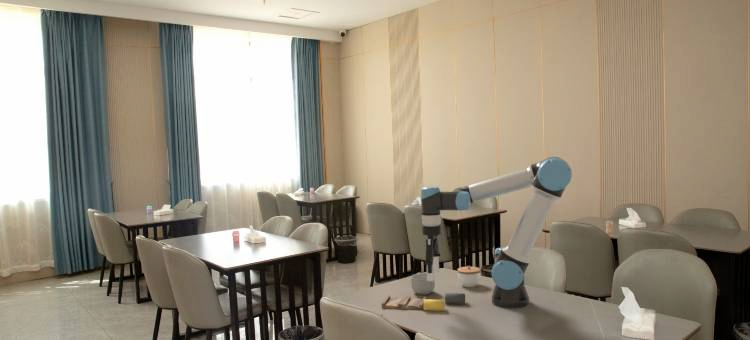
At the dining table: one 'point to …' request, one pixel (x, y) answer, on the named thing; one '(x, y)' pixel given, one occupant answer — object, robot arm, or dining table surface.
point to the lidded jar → (469, 276)
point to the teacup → (422, 284)
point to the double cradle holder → (403, 303)
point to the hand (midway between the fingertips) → (433, 276)
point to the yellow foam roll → (434, 305)
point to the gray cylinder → (454, 298)
